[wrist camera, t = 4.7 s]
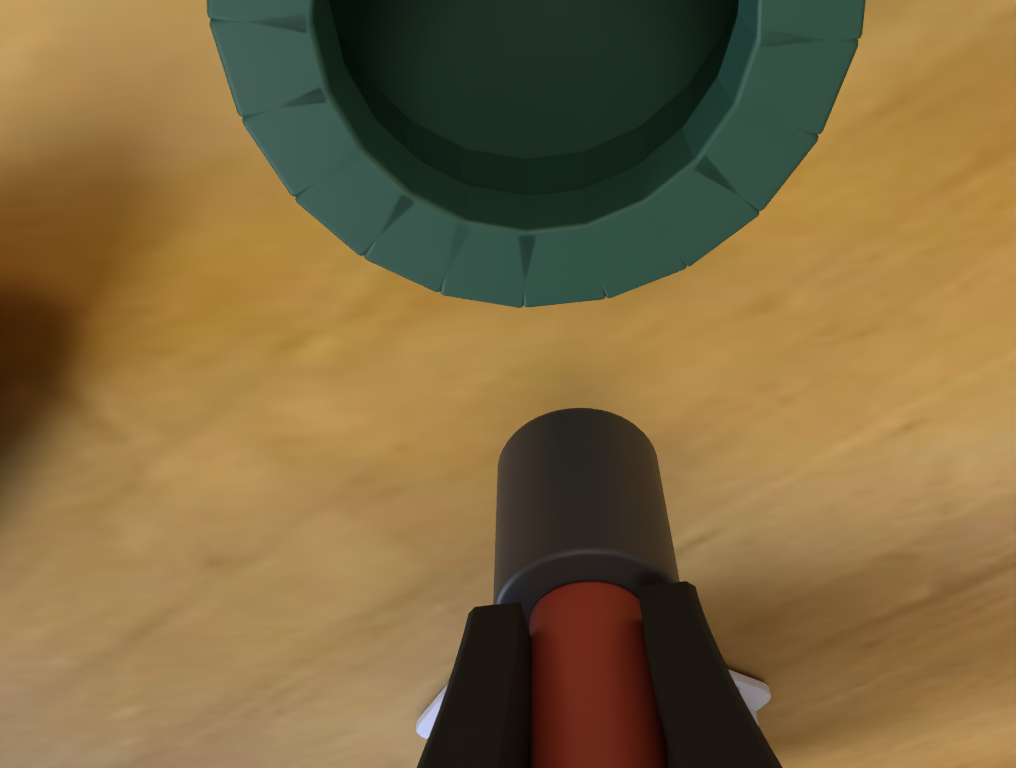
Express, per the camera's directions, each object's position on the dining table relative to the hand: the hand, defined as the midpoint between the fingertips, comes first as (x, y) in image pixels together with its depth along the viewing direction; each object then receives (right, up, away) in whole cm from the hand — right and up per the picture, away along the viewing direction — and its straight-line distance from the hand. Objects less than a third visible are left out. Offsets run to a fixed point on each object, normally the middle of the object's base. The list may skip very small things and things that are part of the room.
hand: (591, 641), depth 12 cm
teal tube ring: (-1, +11, +4) cm, 12 cm away
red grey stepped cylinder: (0, +2, +3) cm, 3 cm away
